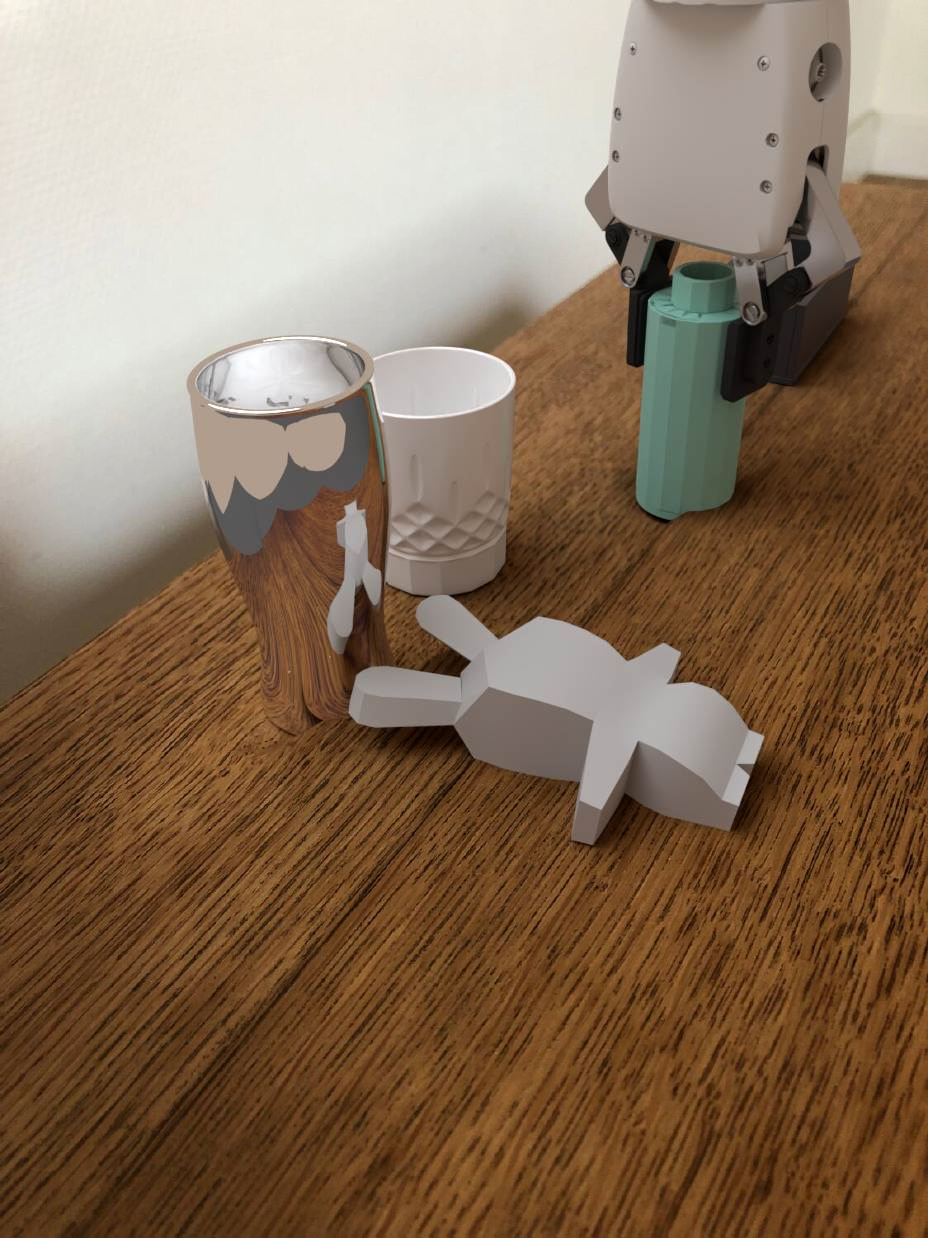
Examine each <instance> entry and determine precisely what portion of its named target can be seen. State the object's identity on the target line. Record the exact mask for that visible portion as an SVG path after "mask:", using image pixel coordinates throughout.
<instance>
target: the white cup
mask: <svg viewBox="0 0 928 1238" xmlns="http://www.w3.org/2000/svg"><path fill="white" fill-rule="evenodd" d="M372 359H373V361H374V365H375V370H374V371H375V378H376V383H377V389H378V394H379V399H380V404H381V409H382V414H383V420H384V426H385V431H386V437H387V445H388V453H389V461H390V471H391V488H392V515H391V534H390V545H389V556H388V565H387V574H386V583H387V584H388V585H389V586H390V587H393V588H396V589H398V590H400V591H403V592H406V593H408V594H410V595H414V596H423V597H426V596H427V597H430V596H432V595H448V596H455V595H460V594H466V593H470V592H473V591H475V590H476V589H478V588H480V587H483V586H485V585H486V584H488V583H490V582H491V581H493V580H495V578H496V577H497V575H498V574H499V572H500V571H501V569H502V568H503V567H504V565H505V563H506V554H507V552H506V551H507V527H508V526H507V524H508V522H507V521H508V514H509V512H510V508H511V507H510V504H511V493H512V475H513V464H514V463H513V462H514V440H515V439H514V438H515V437H514V436H515V433H514V432H515V411H516V393H517V392H516V390H517V389H516V388H517V376H516V373H515V371H514V369H513V368H512V367H511V366H510V365H509V364H508V363H507V362H505V361H504V360H502V359H500V358H499V357H497V356H495V355H492V354H490V353H486V352H484V351H480V350H476V349H471V348H465V347H456V346H455V347H454V346H423V347H422V346H421V347H412V348H405V349H400V350H395V351H391V352H387V353H385V354H384V353H383V354H381V355H378V356H376V357H372Z"/></svg>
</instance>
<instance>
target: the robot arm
mask: <svg viewBox="0 0 928 1238" xmlns="http://www.w3.org/2000/svg"><path fill="white" fill-rule="evenodd" d="M850 17H851V16H850V0H631V1H630V5H629V9H628V13H627V18H626V21H625V27H624V33H623V36H622V43H621V46H620V53H619V59H618V66H617V72H616V78H615V87H614V94H613V101H612V110H611V111H612V112H611V113H612V114H611V122H610V131H609V144H608V145H609V146H608V161H607V162H608V163H607V165H606V166H605V167H604V169H603V171H602V172H601V173H600V174H599V176H598V177H597V178H596V180H595V182H594V183H593V184H592V185H591V187H590V188H589V190H588V191H587V192H586V194H585V196H584V205H585V207H586V209H587V210H588V212H589V214H590V215H591V216H592V218H593V219H594V221H595V222H596V224H597V226H598V227H599V229H600V230H601V232H604V238H605V242H606V244H607V246H608V247H609V249H610V250H611V253H612V254H613V256H614V258H615V259H616V262H617V263H618V266H620V267H619V270H618V278H619V282H620V284H621V285H622V286H623V287H624V288H625V289H629V295H628V313H627V331H626V336H627V337H626V338H627V339H626V356H625V362H626V365H628V366H630V367H633V368H635V369H636V368H637V369H638V368H640V367H644V357H645V342H646V327H647V312H648V300H649V298H650V297H651V296H652V295H653V294H654V293H655V292H657V291H660V290H662V289H665V288H667V287H672V282H673V274H670V272H671V271H672V268H673V265H674V262H675V261H676V257H677V254H678V251H679V249H680V246H681V244H684V245H689V246H691V247H696V248H700V249H704V250H707V251H712V252H716V253H720V254H723V255H727V256H732V259H733V263H734V270H735V278H736V285H737V292H738V299H739V306H740V313H741V317H740V318H738V319H735V320H733V321H731V322H730V323H729V325H728V329H727V337H726V346H725V354H724V363H723V372H722V380H721V389H720V395H721V396H722V399H723V400H726V401H729V402H732V403H734V402H736V401H738V400H740V399H742V398H744V397H746V396H747V397H748V396H749V395H752V394H753V393H756V392H758V391H759V390H761V389H764V388H765V387H766V386H767V385H768V383H770V382H769V379H770V378H771V377H772V375H773V373H774V370H775V365H776V358H777V352H778V345H779V338H780V331H781V325H782V318H783V313H784V312H785V311H787V310H789V309H791V308H793V307H794V306H795V305H796V303H798V302H799V301H800V300H802V299H803V298H804V297H806V296H807V295H809V294H810V293H811V292H813V291H814V290H815V289H817V288H818V287H819V286H820V285H822V284H823V283H825V282H827V281H829V280H830V279H832V278H834V277H835V276H837V275H839V274H840V273H842V272H844V271H845V270H847V269H849V268H850V267H852V266H854V265H855V266H856V265H857V264H858V263H859V262H860V260H861V258H862V249H861V247H860V244H859V242H858V240H857V238H856V236H855V233H854V232H853V230H852V228H851V226H850V224H849V222H848V220H847V217H846V214H844V212H843V209H842V207H841V205H840V202H839V201H840V194H841V188H842V180H843V172H844V162H845V156H846V155H845V154H846V145H847V137H848V136H847V135H848V123H849V113H850V112H849V111H850V98H851V97H850V95H851V94H850V93H851V74H852V73H851V71H852V44H851V43H852V41H851V18H850ZM791 238H792V239H798V240H809V242H810V245H811V253H810V256H809V257H808V258H807V259H806V260H804V261H803V262H802V263H800V264H799V265H797V266H796V267H794V262H793V254H792V245H791ZM762 263H764V265H765V272H764V265H763V264H762ZM765 273H766V280H765ZM766 281H767V287H766ZM747 397H746V398H747Z"/></svg>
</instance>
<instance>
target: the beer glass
mask: <svg viewBox="0 0 928 1238" xmlns="http://www.w3.org/2000/svg"><path fill="white" fill-rule="evenodd" d="M374 370H375V365H374V361H373V357H372V355H371V354H370V353H369V352H368V351H367V350H365V349H364V348H363V347H361V346H360V345H358V344H356V343H354V342H351V341H348V340H345V339H341V338H338V337H337V338H336V337H332V336H325V335H316V334H315V335H314V334H313V335H312V334H290V335H289V334H287V335H285V334H284V335H277V336H269V337H262V338H257V339H251V340H248V341H244V342H240V343H237V344H234V345H230V346H228V347H225V348H223V349H220V350H219V351H216V352H215V353H214V352H213V354H210V355H209V356H207V357H205V358H204V359H203V360H201V361H200V362H199V363H197V364H196V365H195V366H194V367H193V368H192V369H191V370H190V372H189V374H188V376H187V379H186V390H187V393H188V397H189V404H190V405H189V406H190V411H191V421H192V429H193V437H194V444H195V450H196V451H195V452H196V459H197V464H198V469H199V475H200V481H201V486H202V491H203V496H204V498H205V502H206V506H207V510H208V514H209V519H210V522H211V525H212V528H213V530H214V533H215V535H216V538H217V541H218V544H219V546H220V550H221V552H222V555H223V557H224V560H225V561H226V564H227V566H228V568H229V571H230V573H231V576H232V577H233V578H232V579H234V583H235V584H236V587H237V589H238V591H239V593H240V595H241V597H242V600H243V602H244V604H245V607H246V609H247V612H248V614H249V616H250V618H251V621H252V623H253V626H254V629H255V633H256V636H257V639H258V645H259V651H260V701H261V706H262V709H263V711H264V712H265V715H266V716H267V718H268V719H269V721H271V722H272V723H273V725H275V726H276V727H278V728H279V729H281V730H283V731H284V732H286V733H288V734H291V735H293V736H299V735H300V734H302V733H304V732H306V731H309V730H310V729H311V728H313V727H315V726H316V725H318V724H320V723H322V722H323V721H331V720H338V719H339V720H340V719H344V718H348V717H352V716H351V715H350V714H349V705H350V699H351V695H352V691H353V687H354V683H355V679H356V675H357V674H359V673H360V672H361V671H363V670H365V669H368V668H370V667H379V666H390V667H396V668H399V667H398V665H397V662H396V659H395V655H394V653H393V650H392V647H391V645H390V642H389V638H388V634H387V627H386V622H385V596H386V595H385V593H386V583H387V582H386V574H387V565H388V556H389V545H390V534H391V515H392V488H391V471H390V461H389V453H388V445H387V437H386V431H385V426H384V420H383V414H382V409H381V404H380V399H379V394H378V389H377V383H376V378H375V371H374Z"/></svg>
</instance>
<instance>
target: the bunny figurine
mask: <svg viewBox="0 0 928 1238" xmlns="http://www.w3.org/2000/svg"><path fill="white" fill-rule="evenodd" d="M415 619H416V621H417V623H418V624H419V626H420V628H421V629H422V630H423V631H424V632H425V633H426V634H428V635H430V636H432V637H433V638H434V639H436V640H437V641H438V642H440V643H442V644H443V645H445V646H446V647H447V648H449V649H451V650H453V651H454V652H455V653H457V654H458V655H460V656H461V657H462V658H464V659H465V660H467V661H468V662H469V664H468V665H466V667H465V668H463V670H462V671H461V672H460V674H459V677H458V676H451V675H447V674H441V673H440V674H439V673H432V672H427V671H420V670H414V669H409V668H402V667H398V668H396V667H390V666H379V667H370V668H368V669H365V670H363V671H361V672H360V673H359V674H357V675H356V679H355V683H354V687H353V691H352V695H351V699H350V705H349V714H350V715H351V716H350V717H351V718H352V719H353V720H354V721H355V722H356V724H358V725H362V726H366V727H370V728H400V727H402V728H403V727H405V728H407V727H432V726H453V727H454V728H455V731H456V732H457V733H458V735H459V737H460V739H461V740H462V742H463V743H464V745H465V746H466V748H467V749H468V751H469V753H470V755H471V756H472V758H473V759H475V760H479V761H482V762H485V763H486V764H489V765H492V766H494V767H495V766H496V767H498V768H501V769H504V770H508V771H511V772H512V771H513V772H517V773H520V774H525V775H529V776H535V777H540V778H544V779H545V778H546V779H550V780H551V779H552V780H557V781H568V782H576V783H579V786H578V791H577V797H576V803H575V810H574V815H573V822H572V827H571V835H570V841H574V842H579V843H583V844H587V845H591V846H593V845H595V843H596V841H597V840H598V838H599V837H600V836H601V834H602V833H603V831H604V829H605V828H606V826H607V825H608V823H609V821H610V820H611V818H612V816H613V815H614V813H615V811H616V810H617V808H618V806H619V804H620V803H621V801H622V798H623V796H625V795H627V796H628V797H630V799H633V800H634V801H636V802H638V803H639V804H641V806H644V807H645V808H647V809H650V810H651V811H653V812H656V813H658V814H660V815H662V816H664V817H668V818H673V819H677V820H679V821H685V822H690V823H693V824H698V825H701V826H708V827H711V828H714V829H718V830H719V829H720V830H721V831H726V832H730V831H731V828H732V825H733V823H734V819H735V817H736V815H737V813H738V810H739V807H740V805H741V801H742V798H743V796H744V794H745V791H746V787H747V785H748V783H749V780H750V777H751V774H752V771H753V768H754V766H755V764H756V761H757V758H758V755H759V752H760V750H761V747H762V745H763V742H764V739H765V735H763V734H761V733H758V732H755V731H753V730H750V729H749V728H748V726H747V725H746V723H745V722H744V720H743V718H742V717H741V715H740V714H739V713H738V711H737V710H736V708H735V706H734V705H733V704H731V702H730V701H728V700H727V699H726V698H725V697H724V696H723V695H721V694H720V693H719V692H718V691H717V690H716V689H714V688H711V687H708V686H706V685H703V684H699V683H696V682H693V681H689V682H681V683H680V682H677V683H674V679H675V676H676V673H677V669H678V665H679V662H680V657H681V655H682V652H681V651H679V650H677V649H676V648H674V647H672V646H670V645H668V644H667V643H666V642H662V643H660V644H659V645H657V646H655V647H653V648H651V649H649V650H648V651H646V652H644V653H642V654H641V655H639V656H636V657H634V658H632V659H630V660H626V659H625V658H624V657H623V656H622V654H620V653H619V652H618V651H617V650H616V649H615V648H614V647H613V646H612V644H610V643H609V642H608V641H606V640H605V639H603V638H601V637H600V636H597V635H596V634H594V633H592V632H590V631H588V630H586V629H584V628H583V627H579V626H577V625H574V624H571V623H568V622H566V621H563V620H559V619H553V618H549V617H544V616H539V615H538V616H536V617H535V618H533V619H532V620H530V621H528V622H527V623H525V624H523V625H521V626H520V627H518V628H516V629H515V630H513V631H511V632H510V633H508V634H506V635H504V636H502V637H501V638H499V639H498V637H497V636H495V634H494V633H492V632H491V631H490V630H489V629H488V628H487V627H486V626H485V625H484V624H483V623H482V622H481V621H480V620H478V619H477V617H476V616H475V615H473V614H472V613H471V612H470V611H469V610H468V609H467V608H466V607H465V606H464V605H463V604H462V603H461V602H460V601H458V600H457V599H454V598H453V597H452V596H451V595H449V596H448V595H432V596H428V597H427V598H425V599H423V600H422V601H420V602H419V603H418V606H417V607H416V611H415ZM624 794H625V795H624Z"/></svg>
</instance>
